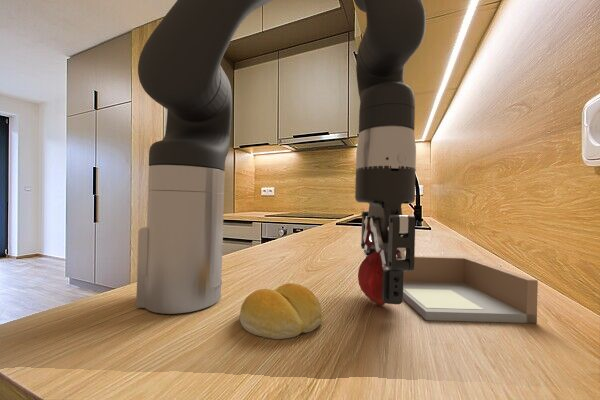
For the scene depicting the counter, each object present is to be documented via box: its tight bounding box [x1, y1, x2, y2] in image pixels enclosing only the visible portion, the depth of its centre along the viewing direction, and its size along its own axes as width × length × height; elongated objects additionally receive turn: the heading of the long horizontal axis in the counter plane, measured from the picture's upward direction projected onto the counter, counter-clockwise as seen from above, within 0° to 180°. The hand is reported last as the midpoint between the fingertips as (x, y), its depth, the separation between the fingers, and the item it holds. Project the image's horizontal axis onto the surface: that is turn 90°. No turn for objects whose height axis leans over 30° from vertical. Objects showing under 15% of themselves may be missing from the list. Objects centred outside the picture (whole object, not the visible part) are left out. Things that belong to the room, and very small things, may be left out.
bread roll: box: [239, 282, 324, 340], centre depth 29 cm, size 8×9×4 cm
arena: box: [396, 254, 539, 324], centre depth 37 cm, size 13×13×5 cm
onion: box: [357, 250, 404, 306], centre depth 35 cm, size 6×6×8 cm
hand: (381, 291), depth 35 cm, fingers open, 7 cm apart
